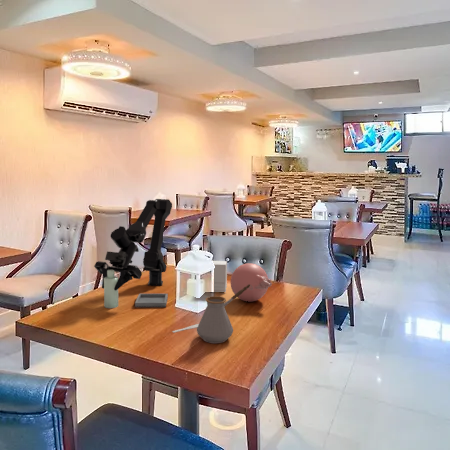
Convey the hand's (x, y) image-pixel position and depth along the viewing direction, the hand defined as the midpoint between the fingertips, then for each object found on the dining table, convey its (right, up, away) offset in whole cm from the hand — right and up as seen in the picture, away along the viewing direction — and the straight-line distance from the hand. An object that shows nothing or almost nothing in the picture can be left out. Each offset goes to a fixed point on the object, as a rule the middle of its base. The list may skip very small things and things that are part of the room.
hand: (108, 288), depth 155 cm
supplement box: (+41, -5, +25) cm, 48 cm away
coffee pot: (+44, -12, -22) cm, 51 cm away
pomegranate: (+55, -7, +11) cm, 56 cm away
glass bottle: (0, -7, +2) cm, 7 cm away
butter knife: (+26, -11, -22) cm, 36 cm away
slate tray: (+15, -6, +7) cm, 18 cm away
